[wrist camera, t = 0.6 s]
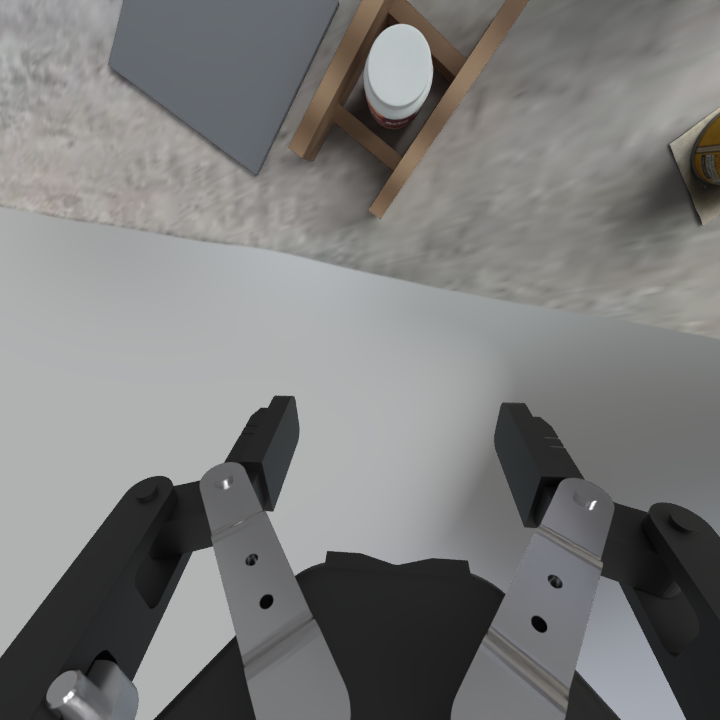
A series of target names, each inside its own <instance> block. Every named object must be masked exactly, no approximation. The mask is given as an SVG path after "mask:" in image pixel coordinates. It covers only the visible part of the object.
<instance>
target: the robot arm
mask: <svg viewBox="0 0 720 720" xmlns="http://www.w3.org/2000/svg"><path fill="white" fill-rule="evenodd" d="M298 439H299V422H298V414H297V408H296V401H295V397H294V396H274V397H273V399H272V401H271V403H270V405H269V407H268V408H260V409H259V410H258V411H257V412H255V413H254V414H253V415H252V416H251V417H250V419H249V421H248V423H247V424H246V427H245V428H244V430H243V431H242V433H241V435H240V436H239V438H238V440H237V441H236V443H235V445H234V447H233V448H232V450H231V452H230V454H229V455H228V457H227V459H226V460H225V462H224V463H222V464H219V465H217V466H215V467H213V468H211V469H210V470H209V471H207V472H206V473H205V474H204V476H203V477H202V479H201V480H200V481H196V482H191V483H187V484H182V485H177V486H173V483H172V481H171V480H170V479H169V478H167V477H164V476H155V477H150V478H147V479H145V480H142V481H140V482H139V483H137V484H135V485H134V486H133V487H131V488H130V489H129V490H128V491H127V492H126V493H125V495H124V496H123V497H122V499H121V500H120V501H119V503H118V504H117V505H116V507H115V508H114V509H113V511H112V512H111V513H110V514H109V516H108V517H107V518H106V520H105V521H104V522H103V524H102V525H101V526H100V528H99V529H98V530H97V532H96V533H95V534H94V536H93V537H92V538H91V539H90V541H89V542H88V543H87V545H86V546H85V547H84V549H83V550H82V551H81V553H80V554H79V555H78V557H77V558H76V559H75V560H74V562H73V563H72V564H71V566H70V567H69V569H68V570H67V571H66V572H65V574H64V575H63V576H62V578H61V579H60V580H59V582H58V583H57V584H56V585H55V587H54V588H53V589H52V591H51V592H50V593H49V595H48V596H47V597H46V599H45V600H44V601H43V603H42V604H41V605H40V607H39V608H38V609H37V610H36V612H35V613H34V614H33V616H32V617H31V619H30V620H29V621H28V622H27V624H26V625H25V626H24V628H23V629H22V630H21V632H20V633H19V634H18V635H17V637H16V638H15V639H14V641H13V642H12V643H11V645H10V646H9V647H8V649H7V650H6V651H5V653H4V654H3V655H2V656H1V658H0V720H134V719H135V716H136V713H137V709H138V702H139V698H138V691H137V688H136V687H135V685H134V684H133V683H132V681H133V679H134V677H135V674H136V672H137V670H138V668H139V666H140V664H141V661H142V659H143V657H144V655H145V653H146V651H147V649H148V646H149V644H150V642H151V640H152V638H153V636H154V633H155V631H156V629H157V627H158V625H159V623H160V621H161V619H162V616H163V614H164V612H165V610H166V608H167V606H168V603H169V601H170V599H171V597H172V595H173V593H174V591H175V589H176V586H177V584H178V582H179V580H180V578H181V576H182V573H183V571H184V569H185V567H186V565H187V563H188V561H189V559H190V556H191V554H192V552H193V551H196V550H200V549H204V548H208V547H212V546H213V547H214V551H215V556H216V559H217V563H218V567H219V571H220V575H221V579H222V582H223V587H224V590H225V594H226V598H227V602H228V606H229V610H230V614H231V617H232V621H233V625H234V629H235V633H236V636H235V637H234V638H233V639H232V640H231V641H230V642H229V643H228V644H227V645H226V646H225V647H224V648H223V649H222V650H221V651H220V652H219V653H218V654H217V655H216V656H215V657H214V658H213V659H212V660H211V661H210V662H209V663H208V665H206V667H204V668H203V669H202V671H201V672H200V673H199V674H198V675H197V676H196V677H195V678H194V679H193V680H192V681H191V682H190V683H189V684H188V685H187V686H186V687H185V688H184V689H183V690H182V691H181V692H180V693H179V694H178V695H177V696H176V697H175V698H174V699H173V700H172V701H171V702H170V703H169V704H168V706H166V707H165V708H164V710H163V711H162V712H161V713H160V714H159V715H158V716H157V717H156V718H155V719H154V720H621V719H620V718H619V717H618V716H617V715H616V714H615V713H614V712H613V710H612V709H611V708H610V707H609V706H608V705H607V704H606V703H605V702H604V701H603V699H602V698H601V697H600V696H599V695H598V694H597V693H596V692H595V691H594V690H593V688H592V687H591V686H590V685H589V684H588V683H587V682H586V681H585V680H584V679H583V678H582V676H581V675H580V674H579V673H578V672H577V671H576V670H575V668H576V664H577V660H578V656H579V653H580V649H581V646H582V642H583V637H584V634H585V630H586V627H587V623H588V620H589V616H590V612H591V608H592V605H593V601H594V597H595V594H596V590H597V586H598V582H599V579H600V575H601V576H604V577H607V578H609V579H612V580H615V581H618V582H619V584H620V586H621V588H622V590H623V592H624V594H625V596H626V598H627V600H628V602H629V604H630V606H631V608H632V610H633V612H634V614H635V616H636V618H637V620H638V622H639V624H640V626H641V628H642V630H643V632H644V635H645V637H646V638H647V640H648V643H649V645H650V647H651V649H652V651H653V653H654V655H655V657H656V659H657V661H658V663H659V665H660V667H661V669H662V671H663V673H664V675H665V677H666V679H667V681H668V683H669V685H670V687H671V689H672V691H673V693H674V695H675V697H676V699H677V702H678V704H679V706H680V708H681V710H682V712H683V714H684V716H685V718H686V720H720V537H719V536H718V534H717V533H716V532H715V531H714V530H713V529H712V527H711V526H710V525H709V524H708V523H707V522H706V521H705V520H703V519H702V518H701V517H699V516H698V515H696V514H694V513H693V512H691V511H689V510H688V509H685V508H683V507H681V506H678V505H675V504H671V503H656V504H653V505H652V506H651V507H650V509H649V511H648V512H644V511H641V510H638V509H634V508H630V507H627V506H624V505H620V504H617V503H615V502H613V501H612V499H611V497H610V496H609V495H608V494H607V493H606V492H605V491H604V490H603V489H602V488H600V487H599V486H597V485H596V484H593V483H592V482H589V481H587V480H585V479H584V478H583V476H582V475H581V473H580V471H579V470H578V468H577V466H576V465H575V463H574V462H573V460H572V459H571V457H570V455H569V454H568V452H567V450H566V449H565V448H564V447H563V444H562V443H561V441H560V440H559V439H558V436H557V435H556V433H555V431H554V430H553V428H552V427H551V426H550V425H549V424H548V423H547V422H545V421H544V420H543V419H542V418H540V417H533V416H532V414H531V413H530V411H529V409H528V407H527V406H526V404H525V403H502V404H501V407H500V412H499V416H498V421H497V425H496V430H495V435H494V443H495V449H496V452H497V454H498V457H499V460H500V463H501V465H502V468H503V471H504V474H505V476H506V479H507V482H508V484H509V487H510V490H511V492H512V495H513V498H514V501H515V503H516V506H517V509H518V511H519V514H520V517H521V519H522V522H523V525H524V527H529V528H537V530H536V532H535V534H534V536H533V538H532V540H531V542H530V544H529V546H528V548H527V550H526V552H525V555H524V557H523V559H522V561H521V563H520V565H519V567H518V569H517V571H516V573H515V576H514V578H513V580H512V582H511V584H510V586H509V588H508V590H507V592H506V594H505V593H504V592H503V591H502V590H500V589H499V588H497V587H496V586H495V585H493V584H492V583H490V582H488V581H487V580H485V579H483V578H481V577H479V576H477V575H474V574H471V573H470V570H469V564H468V561H465V560H451V559H450V560H449V559H436V558H431V559H426V560H421V561H417V562H411V563H406V564H401V565H394V564H391V563H388V562H385V561H382V560H378V559H376V558H373V557H370V556H367V555H364V554H361V553H348V552H333V551H327V555H326V561H325V563H321V564H318V565H315V566H312V567H310V568H308V569H306V570H304V571H302V572H300V573H299V574H297V575H296V576H294V574H293V571H292V569H291V567H290V565H289V562H288V560H287V558H286V556H285V553H284V551H283V549H282V547H281V544H280V542H279V540H278V538H277V536H276V533H275V531H274V529H273V527H272V524H271V522H270V520H269V518H268V515H267V513H266V511H274V508H275V505H276V502H277V499H278V497H279V494H280V491H281V488H282V485H283V482H284V480H285V477H286V474H287V471H288V468H289V466H290V462H291V460H292V457H293V454H294V451H295V448H296V446H297V443H298Z"/></svg>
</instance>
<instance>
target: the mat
mask: <svg viewBox="0 0 720 720" xmlns="http://www.w3.org/2000/svg"><path fill="white" fill-rule="evenodd" d="M338 7H339V2H338V1H337V0H124V1H123V5H122V9H121V13H120V18H119V22H118V26H117V30H116V34H115V38H114V42H113V47H112V51H111V55H110V59H109V63H108V65H109V66H110V67H111V68H113V69H114V70H115V71H117V72H118V73H119V74H121V75H122V76H123V77H125V78H126V79H127V80H129V81H130V82H131V83H133V84H134V85H135V86H137V87H138V88H140V89H141V90H142V91H144V92H145V93H146V94H148V95H149V96H150V97H152V98H153V99H154V100H156V101H157V102H158V103H160V104H161V105H162V106H164V107H165V108H166V109H168V110H169V111H171V112H172V113H173V114H175V115H176V116H177V117H179V118H180V119H181V120H183V121H184V122H185V123H187V124H188V125H189V126H191V127H192V128H193V129H195V130H196V131H198V132H199V133H200V134H202V135H203V136H204V137H206V138H207V139H208V140H210V141H211V142H212V143H214V144H215V145H216V146H218V147H219V148H220V149H222V150H223V151H224V152H226V153H227V154H229V155H230V156H231V157H233V158H234V159H235V160H237V161H238V162H239V163H241V164H242V165H243V166H245V167H246V168H247V169H249V170H250V171H251V172H253V173H254V174H255V175H258V174H259V172H260V170H261V168H262V165H263V163H264V161H265V159H266V157H267V155H268V153H269V151H270V149H271V147H272V145H273V142H274V140H275V138H276V136H277V134H278V132H279V130H280V128H281V126H282V124H283V122H284V119H285V117H286V115H287V113H288V111H289V109H290V107H291V105H292V103H293V101H294V99H295V96H296V94H297V92H298V90H299V88H300V86H301V84H302V82H303V80H304V78H305V76H306V73H307V71H308V69H309V67H310V65H311V63H312V61H313V59H314V57H315V55H316V53H317V50H318V48H319V46H320V44H321V42H322V40H323V38H324V36H325V34H326V32H327V30H328V27H329V25H330V23H331V21H332V19H333V17H334V15H335V13H336V11H337V9H338Z"/></svg>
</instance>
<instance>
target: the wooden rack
mask: <svg viewBox="0 0 720 720" xmlns="http://www.w3.org/2000/svg"><path fill="white" fill-rule="evenodd" d="M528 2H529V0H506V1H505V3H504V4H503V6H502V7H501V9H500V10H499V12H498V13H497V15H496V16H495V18H494V19H493V21H492V22H491V24H490V25H489V27H488V28H487V30H486V31H485V33H484V35H483V36H482V38H481V39H480V41H479V42H478V44H477V45H476V47H475V48H474V50H473V51H472V53H471V54H470V56H469V57H468V59H467V60H466V59H465V58H464V57H463V56H462V55H461V54H460V53H459V52H458V51H457V50H456V49H455V48H454V47H453V46H452V45H451V44H450V43H449V42H448V41H447V40H446V39H445V38H444V37H443V36H442V35H441V34H440V33H439V32H438V31H437V30H436V29H435V28H434V27H433V26H432V25H431V24H430V23H429V22H428V21H427V20H426V19H425V18H424V17H423V16H422V15H421V14H420V13H419V12H418V11H417V10H416V9H415V8H414V7H413V6H412V5H411V4H410V3H409V2H408V1H407V0H362V2H361V4H360V6H359V8H358V10H357V12H356V13H355V15H354V17H353V19H352V21H351V23H350V25H349V27H348V29H347V31H346V33H345V35H344V37H343V39H342V41H341V43H340V45H339V47H338V49H337V51H336V53H335V55H334V57H333V59H332V61H331V63H330V65H329V67H328V69H327V71H326V73H325V75H324V77H323V79H322V81H321V83H320V85H319V87H318V89H317V91H316V93H315V95H314V97H313V99H312V101H311V103H310V105H309V107H308V109H307V111H306V113H305V115H304V117H303V119H302V121H301V123H300V125H299V127H298V129H297V131H296V133H295V135H294V137H293V139H292V141H291V143H290V145H289V147H288V148H289V149H291V150H292V151H293V152H294V153H296V154H297V155H298V156H300V157H301V158H303V159H307V160H311V161H314V159H315V157H316V156H317V154H318V152H319V150H320V148H321V146H322V145H323V143H324V141H325V139H326V137H327V135H328V134H329V132H330V130H331V128H332V126H333V124H334V123H336V124H337V125H338V126H339V127H340V128H342V129H343V130H344V131H345V132H347V133H348V134H349V135H350V136H351V137H353V138H354V139H355V140H356V141H357V142H359V143H360V144H361V145H362V146H363V147H365V148H366V149H367V150H368V151H369V152H371V153H372V154H373V155H374V156H375V157H377V158H378V159H379V160H380V161H381V162H383V163H384V164H385V165H386V166H387V167H389V168H390V169H391V170H392V171H393V173H392V175H391V176H390V178H389V179H388V181H387V182H386V184H385V185H384V187H383V188H382V190H381V191H380V193H379V194H378V196H377V197H376V199H375V201H374V202H373V204H372V205H371V207H370V208H369V211H370V212H371V213H373V214H374V215H375V216H376V217H378V218H379V219H381V217H382V216H383V214H384V213H385V211H386V210H387V208H388V207H389V205H390V204H391V203H392V201H393V200H394V198H395V197H396V195H397V194H398V192H399V191H400V189H401V188H402V186H403V185H404V183H405V182H406V181H407V179H408V178H409V176H410V175H411V173H412V172H413V170H414V169H415V167H416V166H417V164H418V163H419V162H420V160H421V159H422V157H423V156H424V154H425V153H426V151H427V150H428V148H429V147H430V145H431V144H432V142H433V141H434V140H435V138H436V137H437V135H438V134H439V132H440V131H441V129H442V128H443V126H444V125H445V123H446V122H447V120H448V119H449V118H450V116H451V115H452V113H453V112H454V110H455V109H456V107H457V106H458V104H459V103H460V101H461V100H462V98H463V97H464V96H465V94H466V93H467V91H468V90H469V88H470V87H471V85H472V84H473V82H474V81H475V79H476V78H477V76H478V75H479V74H480V72H481V71H482V69H483V68H484V66H485V65H486V63H487V62H488V60H489V59H490V57H491V56H492V55H493V53H494V52H495V50H496V49H497V47H498V46H499V44H500V43H501V41H502V40H503V38H504V37H505V35H506V34H507V33H508V31H509V30H510V28H511V27H512V25H513V24H514V22H515V21H516V19H517V18H518V16H519V15H520V13H521V12H522V11H523V9H524V8H525V6H526V5H527V3H528ZM388 24H389V25H390V26H393V25H396V24H407V25H411V26H413V27H414V28H416V29H417V30H419V31H420V32H421V33H422V35H423V36H424V37H425V39H426V41H427V43H428V45H429V48H430V52H431V59H432V64H433V66H434V67H435V68H436V69H437V70H438V71H439V72H440V73H441V74H442V75H443V76H444V77H445V78H446V79H447V80H448V81H449V82H450V83H451V85H450V86H449V88H448V89H447V91H446V92H445V94H444V95H443V97H442V98H441V100H440V102H439V103H438V105H437V106H436V108H435V109H434V111H433V112H432V114H431V115H430V117H429V118H428V120H427V121H426V123H425V124H424V126H423V127H422V129H421V130H420V132H419V134H418V135H417V137H416V138H415V140H414V141H413V143H412V144H411V146H410V147H409V149H408V150H407V152H406V153H405V155H404V156H403V158H402V157H401V156H400V155H399V154H398V153H397V152H395V151H394V150H393V149H392V148H391V147H389V146H388V145H387V144H386V143H385V142H384V141H382V140H381V139H380V138H379V137H378V136H377V135H375V134H374V133H373V132H372V131H371V130H369V129H368V128H367V127H366V126H365V125H364V124H362V123H361V122H360V121H359V120H358V119H356V118H355V117H354V116H353V115H352V114H351V113H349V112H348V111H347V110H346V109H345V108H344V107H343V106H344V104H345V102H346V100H347V98H348V97H349V95H350V93H351V91H352V89H353V87H354V86H355V84H356V82H357V80H358V78H359V76H360V75H361V73H362V71H363V69H364V67H365V64H366V60H367V58H368V55H369V53H370V50H371V47H372V45H373V43H374V41H375V40H376V38H377V37H378V36H379V35H380V34H381V32H383V31H384V30H385V28H386V27H387V25H388Z"/></svg>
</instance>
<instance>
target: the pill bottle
mask: <svg viewBox="0 0 720 720" xmlns="http://www.w3.org/2000/svg"><path fill="white" fill-rule="evenodd" d="M432 78H433V64H432V59H431V52H430V48H429V45H428V43H427V41H426V39H425V37H424V36H423V35H422V33H421V32H420V31H419V30H417V29H416V28H414V27H413V26H411V25H407V24H396V25H393V26H390V27H388V28H387V29H385V30H384V31H383V32H381V34H380V35H379V36H378V37H377V38H376V40H375V41H374V43H373V45H372V47H371V50H370V53H369V55H368V58H367V60H366V64H365V67H364V75H363V82H364V90H365V93H366V99H367V103H368V107H369V110H370V113H371V115H372V117H373V118H374V119H375V121H376V122H377V123H379V124H380V125H381V126H383V127H385V128H388V129H399V128H402V127H405V126H406V125H408V124H409V123H411V122H412V121H413V120H414V119H415V117H416V116H417V114H418V113H419V111H420V109H421V107H422V105H423V104H424V102H425V100H426V98H427V96H428V94H429V91H430V88H431V85H432Z"/></svg>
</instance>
